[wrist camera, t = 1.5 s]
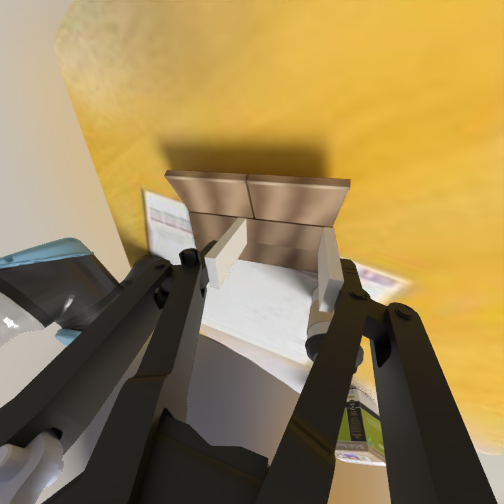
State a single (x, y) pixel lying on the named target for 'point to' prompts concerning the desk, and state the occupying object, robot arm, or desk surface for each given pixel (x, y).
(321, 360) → the robot arm
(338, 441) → the tea box
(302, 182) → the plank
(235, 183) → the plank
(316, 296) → the coffee cup
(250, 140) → the desk surface
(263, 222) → the laid board
